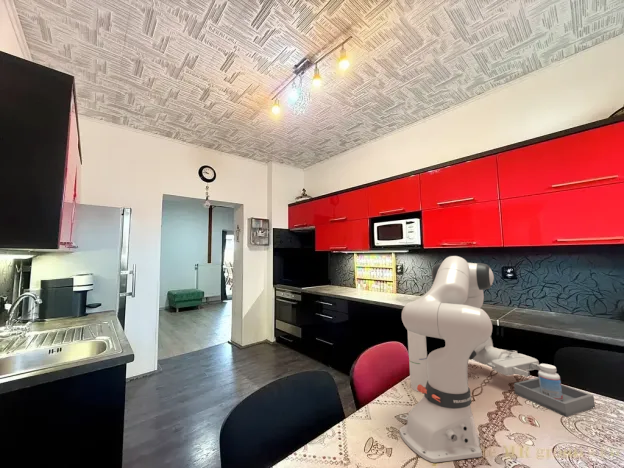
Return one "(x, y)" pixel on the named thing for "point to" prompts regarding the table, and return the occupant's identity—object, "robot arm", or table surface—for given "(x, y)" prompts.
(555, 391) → the pill bottle
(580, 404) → the tray
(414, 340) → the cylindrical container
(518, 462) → the table surface
